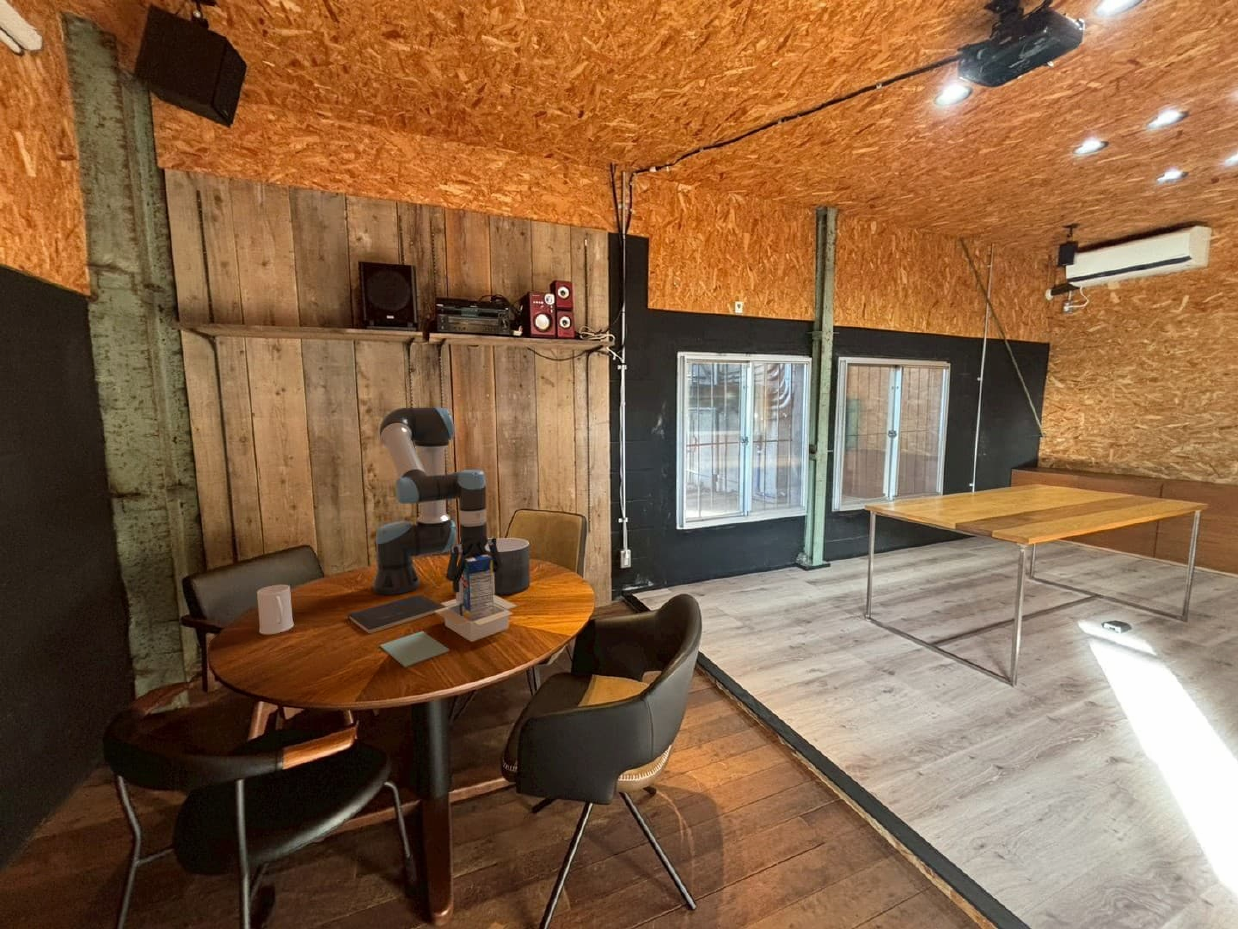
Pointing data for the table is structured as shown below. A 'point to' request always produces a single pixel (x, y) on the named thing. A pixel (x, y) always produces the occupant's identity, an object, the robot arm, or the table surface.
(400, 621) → the hardcover book
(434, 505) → the robot arm
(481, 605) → the beverage box
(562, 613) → the table surface
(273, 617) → the mug
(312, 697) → the table surface
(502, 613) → the carton
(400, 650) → the mat
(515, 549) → the planter
